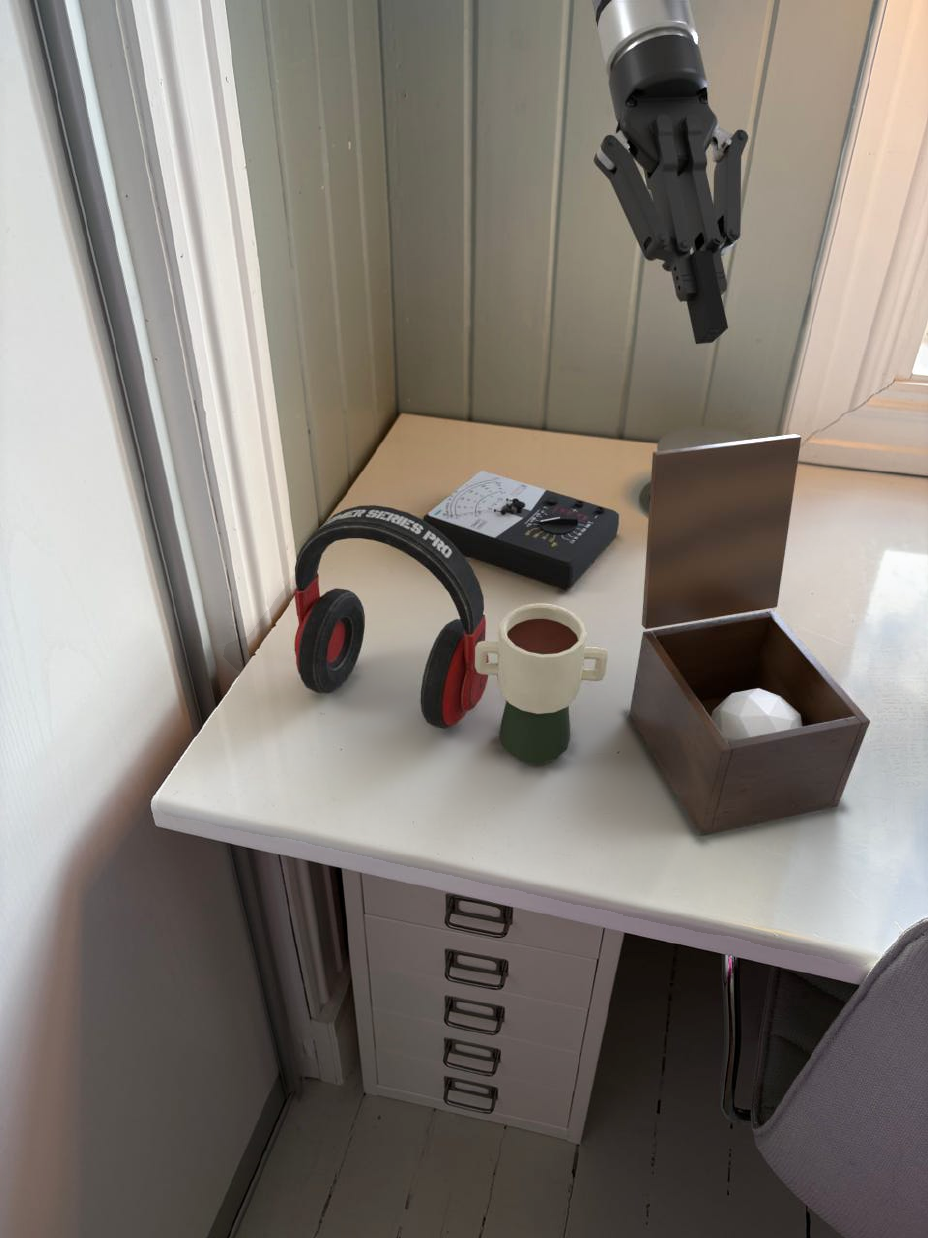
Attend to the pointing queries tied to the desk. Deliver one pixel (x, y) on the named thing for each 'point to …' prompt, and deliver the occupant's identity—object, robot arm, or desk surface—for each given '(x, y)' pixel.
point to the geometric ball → (754, 715)
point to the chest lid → (718, 529)
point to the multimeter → (525, 528)
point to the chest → (751, 767)
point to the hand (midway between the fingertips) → (711, 335)
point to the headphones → (340, 620)
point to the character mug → (539, 677)
